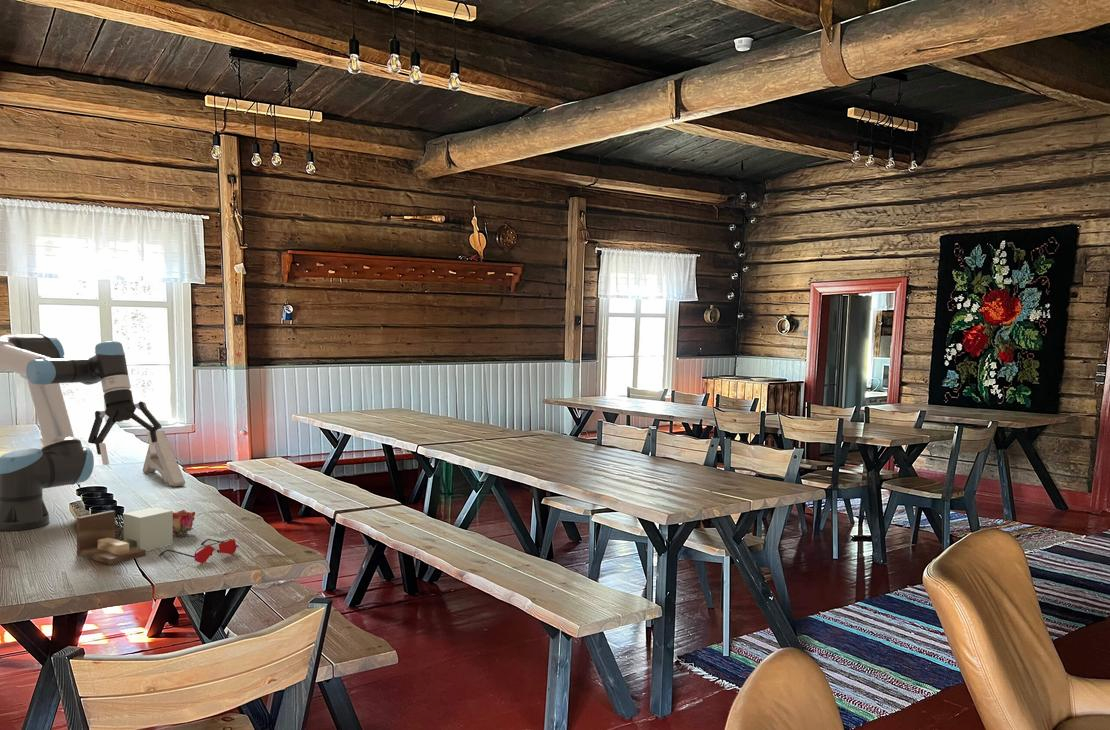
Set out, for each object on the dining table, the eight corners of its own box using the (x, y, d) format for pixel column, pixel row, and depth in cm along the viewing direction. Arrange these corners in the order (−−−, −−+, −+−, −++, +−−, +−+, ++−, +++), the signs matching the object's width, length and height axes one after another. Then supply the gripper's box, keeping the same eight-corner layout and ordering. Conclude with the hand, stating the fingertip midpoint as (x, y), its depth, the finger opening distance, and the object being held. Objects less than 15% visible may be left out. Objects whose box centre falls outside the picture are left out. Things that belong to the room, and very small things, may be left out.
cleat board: (76, 554, 218) (76, 517, 217) (112, 545, 227) (112, 510, 226) (110, 564, 210) (110, 526, 210) (145, 555, 219) (145, 518, 218)
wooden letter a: (162, 522, 313) (142, 470, 329) (173, 520, 316) (153, 469, 332) (173, 483, 303) (152, 431, 319) (185, 481, 306) (163, 430, 322)
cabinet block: (140, 552, 222) (140, 517, 221) (123, 547, 226) (123, 513, 225) (176, 543, 232) (176, 509, 231) (160, 538, 235) (160, 506, 235)
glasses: (196, 567, 211) (196, 549, 211) (158, 556, 219) (158, 539, 219) (239, 554, 223) (239, 537, 223) (201, 545, 231) (201, 528, 231)
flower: (205, 530, 240) (200, 506, 243) (178, 530, 232) (173, 506, 235) (186, 543, 243) (181, 520, 246) (158, 544, 235) (154, 520, 238)
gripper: (67, 399, 232) (80, 468, 230) (156, 380, 237) (169, 448, 234) (78, 402, 239) (91, 469, 237) (164, 383, 244) (177, 449, 242)
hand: (130, 459), depth 236 cm, fingers open, 13 cm apart
